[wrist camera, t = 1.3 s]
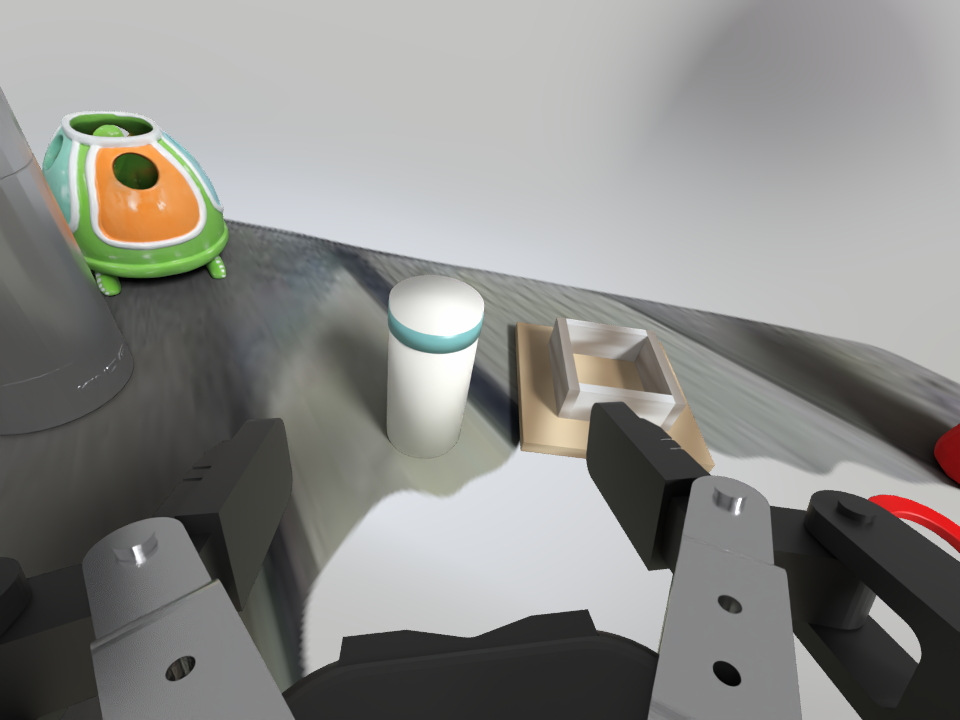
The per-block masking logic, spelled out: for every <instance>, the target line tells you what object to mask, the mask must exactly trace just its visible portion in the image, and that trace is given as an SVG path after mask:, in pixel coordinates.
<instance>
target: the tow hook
mask: <svg viewBox="0 0 960 720" xmlns="http://www.w3.org/2000/svg"><path fill="white" fill-rule="evenodd" d="M868 500H869V501H871V502H874V503H876V504H878V505H879V506H881V507H883V508H884V509H886V510H887V511H889V512H890V513H892V514H893V515H895V516H896V517H897V518H904V519H907V520H911V521H913V522H916V523H918V524H920V525H922V526H924V527H926V528H928V529H929V530H932V531H933V532H935V533H936V534H937V535H939V536H940V537H941V538H943V539H944V540H946V541H947V542H948V543H949V544H950V545H951V546H953V547H954V548H955V549H956V550H957V551H958V552H959V553H960V526H958V525H957V524H955V523H954V522H952V521H951V520H950V519H948V518H946V517H945V516H943V515H941V514H940V513H937V512H936V511H934V510H932V509H930V508H929V507H926V506H924V505H922V504H919V503H917V502H915V501H912V500H909V499H906V498H902V497H898V496H894V495H893V496H892V495H878V496H873V497H870V498H869V499H868Z"/></svg>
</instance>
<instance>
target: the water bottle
mask: <svg viewBox="0 0 960 720" xmlns="http://www.w3.org/2000/svg"><path fill="white" fill-rule="evenodd" d="M934 455H935V458H936V460H937V461H938V463H939V464H940V466H941V467H942V469H943V470H944V471H945V473H946V474H947V476H949V477H950V478H951V479H953V480H954V481H956V482H957V483H959V484H960V424H958V425H957V426H955V427H954V428H952V429H951V430H950V431H948V432H947V433H945V434H944V435H943V436H941V437H940V438H939V440H938V441H937V443H936V444H935V450H934Z"/></svg>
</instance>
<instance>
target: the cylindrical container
mask: <svg viewBox="0 0 960 720" xmlns="http://www.w3.org/2000/svg"><path fill="white" fill-rule="evenodd" d="M483 316H484V302H483V299H482V297H481V296H480V294H479V293H478V292H477V291H476V290H475V289H474V288H472V287H471V286H469V285H468V284H466V283H464V282H462V281H459V280H457V279H454V278H450V277H446V276H439V275H420V276H414V277H411V278H407V279H405V280H403V281H401V282H399V283H398V284H396V285H395V286H394V287H393V289H392V290H391V292H390V296H389V302H388V326H389V336H388V385H387V435H388V438H389V440H390V442H391V443H392V445H393V446H394V447H395V448H396V449H398V450H399V451H400V452H402V453H404V454H406V455H408V456H411V457H415V458H434V457H437V456H440V455H443V454H445V453H446V452H448V451H449V450H451V449H452V448H453V447H454V446H455V444H456V443H457V441H458V439H459V435H460V430H461V425H462V420H463V415H464V409H465V404H466V399H467V394H468V389H469V384H470V378H471V373H472V368H473V363H474V358H475V352H476V347H477V342H478V337H479V335H480V331H481V326H482V321H483Z"/></svg>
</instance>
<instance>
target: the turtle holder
mask: <svg viewBox="0 0 960 720" xmlns="http://www.w3.org/2000/svg"><path fill="white" fill-rule="evenodd" d="M115 125H116V126H118V127H120V128H123V129H125V130H126V131H128V132H129V133H130V134H129V135H128V136H127V137H124V136H123V134H122V132H121V131H120V129H119V128H117V127H116V126H115ZM42 172H43V174H44V177H45V179H46V181H47V183H48V185H49V187H50V189H51V191H52V193H53V195H54V197H55V199H56V201H57V203H58V205H59V207H60V209H61V211H62V213H63V215H64V217H65V219H66V222H67V224H68V226H69V228H70V230H71V232H72V234H73V236H74V238H75V240H76V242H77V244H78V246H79V248H80V250H81V252H82V254H83V256H84V258H85V260H86V262H87V264H88V267H89V269H92V270H94V271H95V276H96V281H97V285H98V287H99V289H100V291H101V292H102V293H103V294H105V295H108V296H112V295H116V294H118V293H119V292H120V291H121V284H120V281H119V279H118V276H119V277H126V278H155V277H164V276H169V275H175V274H180V273H184V272H188V271H191V270H194V269H196V268H199V267H201V266H203V265H205V264H206V266H207V268H208V270H209V272H210V275H211V276H212V277H213V278H215V279H221V278H225V277H226V269H225V266H224V263H223V261H222V259H221V258H220V256H219V254H220V253H221V251H222V250H223V249H224V247H225V246H226V244H227V241H228V237H229V232H228V228H227V226H226V224H225V222H224V219H223V213H222V212H223V205H222V203H221V202H220V200H219V199H218V197H217V194H216V192H215V189H214V187H213V185H212V183H211V181H210V179H209V178H208V176H207V175H206V173H205V171H204V170H203V169H202V167H201V166H200V165H199V163H198V162H197V161H196V160H195V158H194V157H193V156H192V155H191V154H190V153H189V152H188V151H186V149H185V148H183V147H182V146H181V145H180V144H179V143H178V142H176V141H175V140H174V139H173V138H171V137H170V136H169V135H168V134H167V133H166V132H164V131H163V130H162V129H161V128H160V127H159V126H158V124H157V123H156V122H154V121H153V120H152V119H150V118H148V117H146V116H143V115H140V114H135V113H129V112H115V111H88V112H77V113H72V114H69V115H66V116H64V117H63V118H62V121H61V125H60V126H59V127H58V129H57V130H56V131H55V133H54V135H53V136H52V138H51V140H50V142H49V144H48V148H47V152H46V154H45V157H44V161H43V170H42Z"/></svg>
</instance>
